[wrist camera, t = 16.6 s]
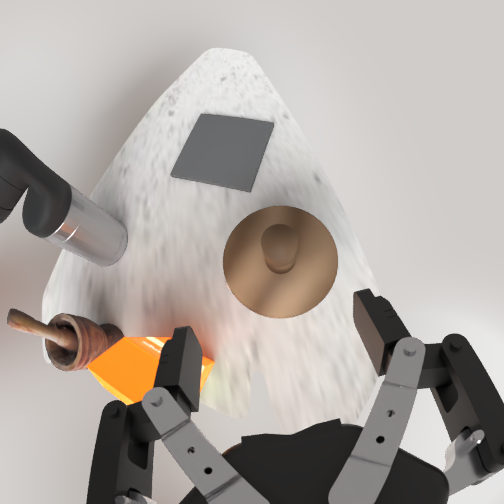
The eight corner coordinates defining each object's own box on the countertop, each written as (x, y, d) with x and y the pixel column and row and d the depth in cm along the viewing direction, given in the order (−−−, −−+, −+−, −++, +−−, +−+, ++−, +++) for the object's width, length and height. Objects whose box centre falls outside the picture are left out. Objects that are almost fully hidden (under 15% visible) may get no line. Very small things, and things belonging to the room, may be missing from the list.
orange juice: (169, 336, 44) (96, 334, 25) (215, 361, 42) (165, 381, 23) (151, 375, 42) (75, 393, 23) (196, 401, 41) (138, 441, 21)
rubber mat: (172, 176, 52) (170, 174, 51) (202, 116, 56) (201, 113, 55) (250, 192, 49) (249, 189, 48) (273, 125, 53) (273, 122, 52)
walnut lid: (210, 299, 35) (189, 290, 27) (243, 199, 38) (233, 167, 30) (320, 331, 32) (332, 331, 25) (345, 224, 36) (360, 196, 28)
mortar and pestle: (80, 359, 44) (2, 359, 25) (81, 316, 47) (3, 301, 28) (127, 369, 43) (48, 381, 24) (129, 322, 45) (49, 310, 26)
